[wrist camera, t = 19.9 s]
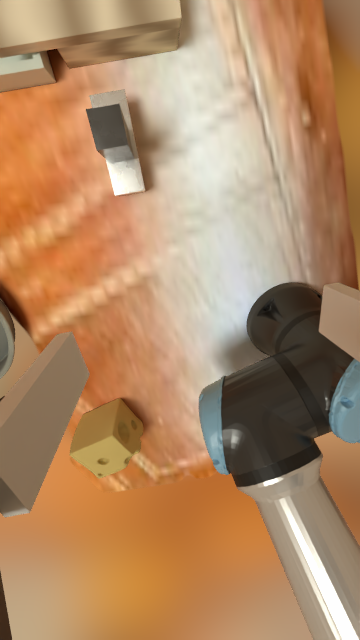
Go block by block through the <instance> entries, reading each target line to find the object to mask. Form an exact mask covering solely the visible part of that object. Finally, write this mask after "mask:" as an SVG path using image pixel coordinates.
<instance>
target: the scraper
mask: <svg viewBox="0 0 360 640" xmlns="http://www.w3.org/2000/svg"><path fill="white" fill-rule="evenodd" d="M89 96H90V100H91V104H92V108H91V109H86V112H87V115H88V119H89V123H90V127H91V130H92V134H93V138H94V142H95V145H96V149H97V151H98V152H99V153H100V154H101V155H102V156H103V157H104V158H106V162H107V166H108V170H109V174H110V178H111V182H112V186H113V189H114V193H115V196H124V195H129V194H135V193H140V192H146V190H145V185H144V180H143V175H142V170H141V165H140V160H139V155H138V150H137V145H136V140H135V135H134V130H133V125H132V120H131V115H130V110H129V105H128V101H127V97H126V93H125V89H124V90H118V91H112V92H107V93H101V94H95V95H89Z"/></svg>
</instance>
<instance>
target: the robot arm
mask: <svg viewBox="0 0 360 640" xmlns="http://www.w3.org/2000/svg"><path fill="white" fill-rule="evenodd" d="M247 332H248V335H249V337H250V339H251V340H252V342H253V343H254V345H255V346H256V347H257V348H258V349H259V350H260V351H262V352H263V353H265V354H267V355H270V357H268V358H266V359H264V360H261V361H259V362H257V363H255V364H253V365H251V366H248V367H246V368H244V369H242V370H240V371H237V372H235V373H233V374H231V375H228V376H223V377H222V378H221V379H220V380H218V381H216V382H214V383H212V384H210V385H208V386H207V387H205V388H204V389H203V390H202V392H201V394H200V397H199V416H200V423H201V428H202V432H203V436H204V440H205V443H206V447H207V450H208V453H209V455H210V457H211V459H212V461H213V464H214V466H215V468H216V470H217V471H218V472H219V473H221V474H226V475H228V474H230V473H231V474H232V476H233V479H234V481H235V484H236V486H237V489H238V490H240V491H242V492H243V493H245V494H247V495H249V496H251V497H252V498H253V499H254V500H255V502H256V504H257V506H258V509H259V511H260V513H261V516H262V518H263V521H264V523H265V525H266V528H267V530H268V532H269V535H270V537H271V540H272V542H273V545H274V547H275V549H276V552H277V554H278V557H279V559H280V561H281V564H282V566H283V568H284V571H285V573H286V576H287V578H288V580H289V583H290V585H291V588H292V590H293V592H294V595H295V597H296V600H297V602H298V604H299V607H300V609H301V612H302V614H303V616H304V619H305V621H306V623H307V626H308V628H309V631H310V633H311V635H312V638H313V640H360V546H359V544H358V543H357V541H356V539H355V537H354V535H353V534H352V532H351V530H350V528H349V527H348V525H347V523H346V521H345V519H344V518H343V516H342V514H341V512H340V510H339V509H338V507H337V505H336V503H335V502H334V500H333V498H332V496H331V494H330V493H329V491H328V489H327V487H326V485H325V484H324V482H323V480H322V478H321V476H320V466H321V462H322V458H323V455H322V453H321V451H320V450H319V448H318V446H317V444H316V443H315V441H314V438H316V437H318V436H321V435H323V434H326V433H329V432H331V431H332V432H333V433H334V434H335V435H336V436H337V437H339V438H341V439H342V440H344V441H346V442H349V443H356V442H358V443H360V291H359V290H356V289H354V288H351V287H349V286H346V285H344V284H341V283H333V284H327V285H324V287H323V296H321V294H319V293H318V292H317V291H316V290H314V289H312V288H310V287H308V286H306V285H304V284H300V283H286V284H282V285H278V286H276V287H274V288H272V289H270V290H268V291H267V292H265V293H264V294H263V295H262V296H261V297H260V298H259V299H258V300H257V301H256V302H255V304H254V305H253V307H252V308H251V310H250V312H249V315H248V319H247ZM88 377H89V372H88V369H87V367H86V364H85V362H84V359H83V357H82V355H81V352H80V350H79V347H78V345H77V343H76V340H75V338H74V335H73V333H72V332H66V333H61V334H57V335H56V336H55V337H54V338H53V340H52V341H51V342H50V343H49V344H48V346H47V347H46V348H45V349H44V350H43V352H42V353H41V354H40V355H39V356H38V358H37V359H36V360H35V361H34V362H33V363H32V365H31V366H30V367H29V368H28V369H27V371H26V372H25V373H24V374H23V375H22V377H21V378H20V379H19V380H18V381H17V382H16V384H15V385H14V386H13V387H12V388H11V390H10V391H9V392H8V393H7V394H6V396H3V397H2V398H1V399H0V513H1V514H3V516H4V517H9V516H14V515H19V514H25V513H30V511H31V509H32V506H33V504H34V502H35V499H36V497H37V495H38V493H39V490H40V488H41V486H42V483H43V481H44V479H45V476H46V474H47V472H48V469H49V467H50V465H51V462H52V460H53V458H54V455H55V453H56V451H57V448H58V446H59V444H60V442H61V439H62V437H63V435H64V432H65V430H66V428H67V425H68V423H69V421H70V418H71V416H72V414H73V411H74V409H75V407H76V404H77V402H78V400H79V398H80V395H81V393H82V391H83V388H84V386H85V384H86V381H87V379H88ZM0 640H12V636H11V630H10V624H9V618H8V613H7V607H6V601H5V595H4V590H3V584H2V579H1V573H0Z"/></svg>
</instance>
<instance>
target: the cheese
mask: <svg viewBox="0 0 360 640" xmlns="http://www.w3.org/2000/svg"><path fill="white" fill-rule="evenodd" d="M142 434H143V423H142V421H141V420H140V419H139V418H137V417H136V416H135V415H134V413H133V412H132V411H131V410H130V409H129V408H128V407H127V405H126V404H125V403H124V402H123V400H122V399H121V398H118V399H116V400H114V401H111V402H109V403H107V404H105V405H102V406H100V407H98V408H96V409H94V410H92V411H90V412H87V413H85V414H83V416H82V418H81V420H80V422H79V424H78V426H77V428H76V431H75V434H74V437H73V440H72V443H71V448H70V456H71V457H73V458H74V459H75V460H76V461H78V462H79V463H81V464H82V465H83V466H85V467H86V468H87V469H89V470H90V471H91V472H92V473H93V474H94V475H95V476H97V477H98V478H103V477H105V476H108V475H111V474H113V473H115V472H118V471H120V470H122V469H124V468H125V467H127V465H128V463H129V460H130V458H131V457H132V456H133V455H135V454H137V453H139V451H140V449H141V440H140V436H142Z"/></svg>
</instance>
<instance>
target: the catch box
mask: <svg viewBox="0 0 360 640" xmlns="http://www.w3.org/2000/svg"><path fill="white" fill-rule="evenodd" d="M51 83H56V80H55V77H54V74H53V70H52V67H51V64H50V60H49V57H48V54H47V50H46V51H40V52H34V53H28V54H22V55H16V56H10V57H5V58H0V92H5V91H11V90H17V89H22V88H28V87H34V86H40V85H46V84H51Z"/></svg>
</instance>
